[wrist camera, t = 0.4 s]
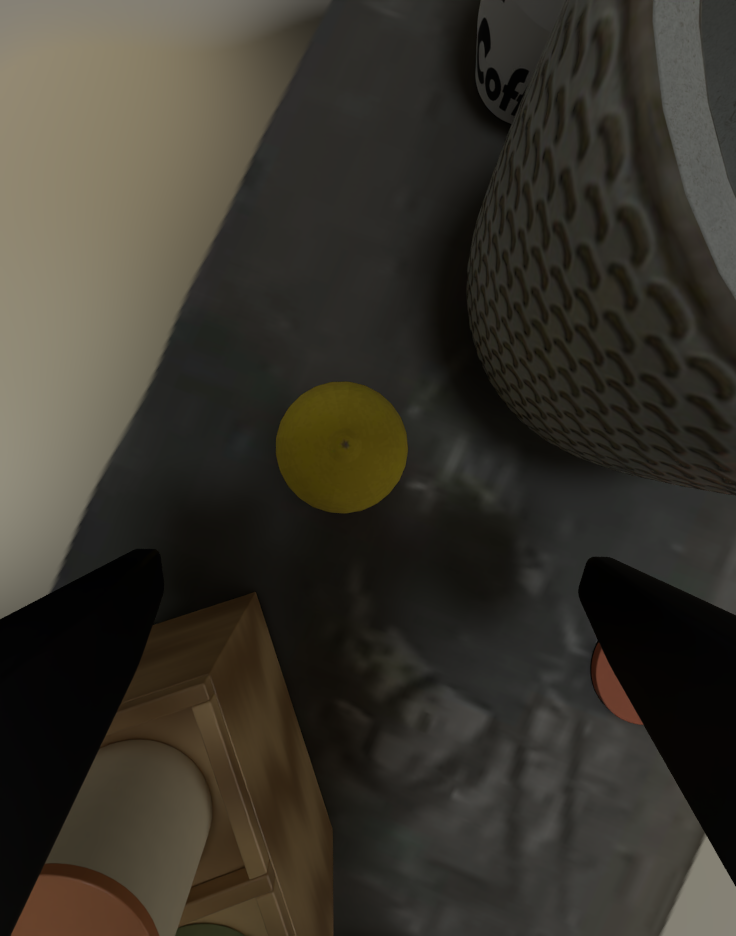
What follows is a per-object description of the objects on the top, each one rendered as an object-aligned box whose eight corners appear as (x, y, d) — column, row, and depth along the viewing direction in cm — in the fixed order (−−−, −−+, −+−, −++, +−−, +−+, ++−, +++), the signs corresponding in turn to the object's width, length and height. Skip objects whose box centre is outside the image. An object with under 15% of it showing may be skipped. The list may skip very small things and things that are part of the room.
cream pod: (236, 857, 14) (190, 1051, 9) (81, 914, 14) (-46, 1146, 9) (188, 712, 14) (116, 840, 9) (29, 767, 13) (-130, 929, 9)
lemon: (409, 476, 23) (451, 486, 15) (313, 520, 22) (303, 554, 14) (367, 379, 22) (386, 336, 14) (268, 422, 22) (232, 401, 14)
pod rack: (333, 830, 23) (334, 1074, 14) (203, 878, 22) (115, 1166, 13) (255, 591, 22) (203, 682, 13) (120, 635, 22) (-31, 762, 13)
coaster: (703, 698, 24) (711, 703, 24) (607, 734, 24) (612, 740, 24) (676, 599, 24) (683, 602, 24) (578, 633, 24) (583, 637, 23)
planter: (782, 282, 24) (1665, -64, 8) (622, 545, 24) (1226, 724, 8) (531, 95, 23) (1006, -766, 7) (356, 371, 22) (421, 149, 6)
